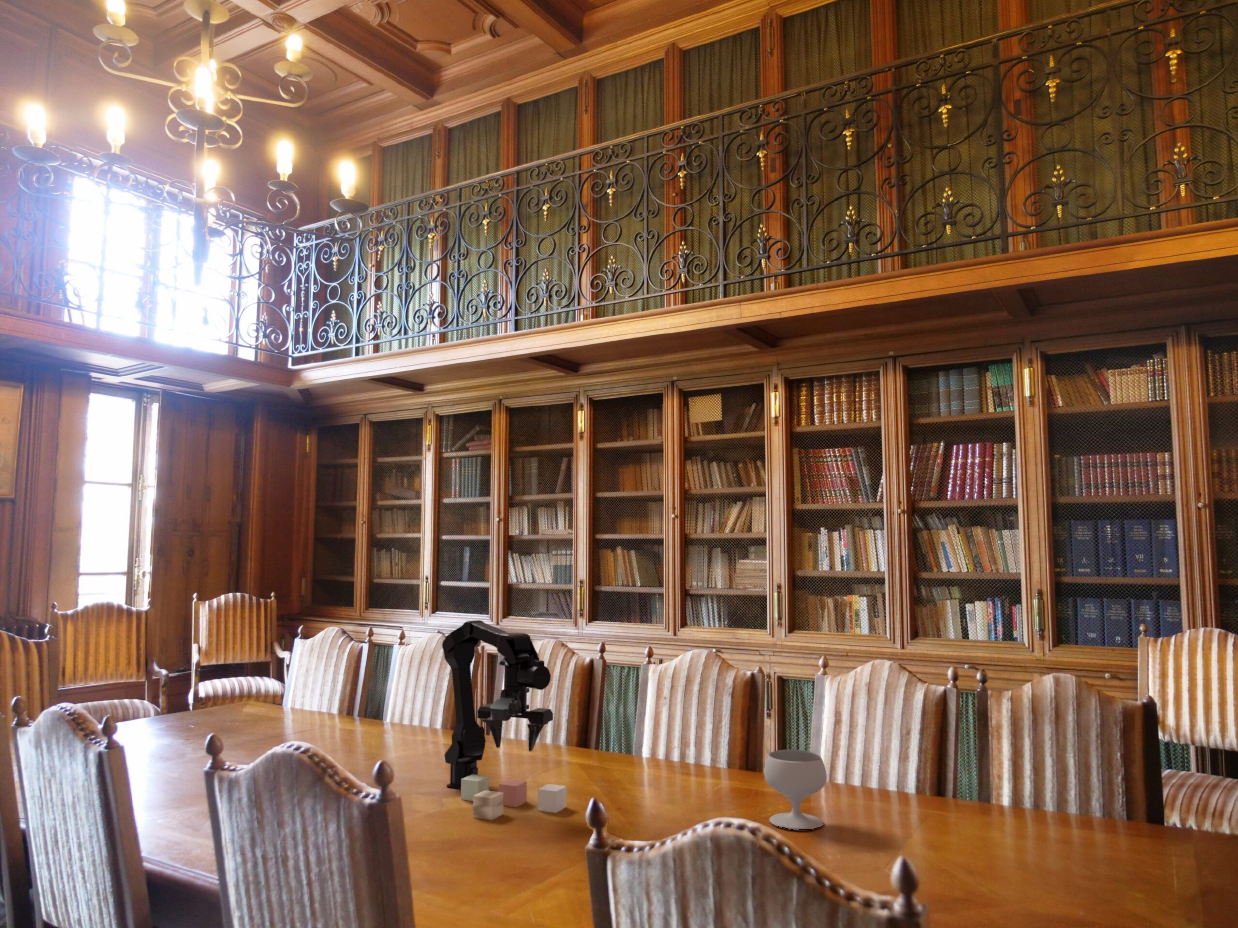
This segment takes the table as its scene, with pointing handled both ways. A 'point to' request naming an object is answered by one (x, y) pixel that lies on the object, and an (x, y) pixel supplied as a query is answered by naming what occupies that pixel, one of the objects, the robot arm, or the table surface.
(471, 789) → the sage green block
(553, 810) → the pale grey block
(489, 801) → the ash block
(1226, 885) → the table surface
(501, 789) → the brick-red block
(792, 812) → the chalice
